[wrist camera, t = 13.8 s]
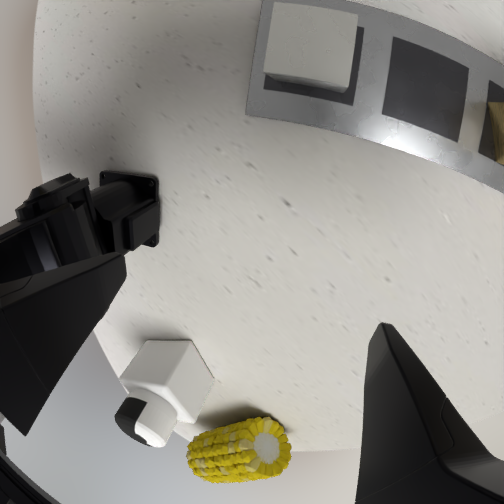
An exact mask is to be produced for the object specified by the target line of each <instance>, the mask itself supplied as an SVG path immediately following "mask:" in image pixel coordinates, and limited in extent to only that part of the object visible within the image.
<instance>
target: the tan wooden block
mask: <svg viewBox="0 0 504 504" xmlns="http://www.w3.org/2000/svg"><path fill="white" fill-rule="evenodd" d="M488 107H489V112H490V118H491V124H492V131H493V138H494V147H495V157H496V162H498V163H500V164H503V165H504V103H502V102H488Z"/></svg>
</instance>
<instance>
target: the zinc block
mask: <svg viewBox="0 0 504 504" xmlns="http://www.w3.org/2000/svg"><path fill="white" fill-rule="evenodd" d="M357 22H358V15H357V14H353V13H348V12H343V11H339V10H333V9H328V8H322V7H316V6H309V5H301V4H292V3H281V2H274V6H273V12H272V18H271V24H270V31H269V37H268V43H267V50H266V56H265V63H264V69H263V72H264V73H266V74H267V75H269V76H270V77H272V78H273V79H274V80H276V81H284V82H290V83H296V84H302V85H308V86H313V87H318V88H323V89H328V90H333V91H337V92H341V93H344V92H345V91H346V89H347V88H348V87H349V80H350V74H351V68H352V61H353V54H354V46H355V39H356V30H357Z"/></svg>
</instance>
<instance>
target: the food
mask: <svg viewBox="0 0 504 504" xmlns="http://www.w3.org/2000/svg"><path fill="white" fill-rule="evenodd" d="M283 433H284V428H283V426H281V425H279V423H278V422H276V421H274V420H271V418H270V417H264V418H263V419H262V418H261V417H257V418H255V419H253V418H250V419H247V420H246V421H242V422H238V423H234V424H230V425H227V426H226V427H218V428H216V429H214V430H210V431H205V432H204V433H201V434H199V436H194V438H193V442H190V444H189V445H188V446H187V447H188V449H189V451H187V455H186V457H187V459H189V460H188V464H189V467H190V468H192V470H193V472H194V475H197V476H199V477H200V478H202V479H203V480H204V481H206V480H207V481H210V482H212V483H214V482H216V483H219V482H221V483H231V482H232V483H233V482H239V483H240V482H245V481H246V482H247V481H249V480H252V481H253V480H257V479H267V478H270V477H275V476H278V475H280V474H281V473H282V471H283V469H286V468H287V466H288V464H289V463H288V462H289V461H290V459H291V454H290V450H291V448H292V447H291V444H290V443H286V442H287V441H288V438H287V436H286V434H283Z"/></svg>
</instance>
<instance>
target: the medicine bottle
mask: <svg viewBox="0 0 504 504" xmlns="http://www.w3.org/2000/svg"><path fill="white" fill-rule="evenodd" d="M119 380H120V382H121V383H122V384H123V386H124V387H125V388H126V389H127V390H128V392H129V394H128V396H127V397H126V399H125V400H124V402H123V404H122V405H121V406H120V408H119V410H118V411H117V413H116V414H115V421H116V423H117V424H118V426H119V427H120V429H121V430H122V431H123V432H124V433H126V434H127V435H129V436H130V437H131V438H133V439H134V440H136V441H138V442H140V443H142V444H145V445H147V446H151V447H163V446H165V445H166V443H167V441H168V439H169V437H170V435H171V433H172V431H173V429H174V427H175V425H176V423H177V421H181V422H187V423H195V422H196V420H197V418H198V416H199V413H200V411H201V409H202V407H203V404H204V402H205V400H206V398H207V396H208V393H209V391H210V389H211V387H212V384H213V382H214V378H213V376H212V375H211V373H210V372H209V370H208V368H207V367H206V365H205V363H204V361H203V360H202V358H201V356H200V355H199V353H198V351H197V349H196V348H195V346H194V344H193V342H192V341H163V340H147V341H146V342H145V343H144V344H143V346H142V347H141V349H140V350H139V351H138V353H137V354H136V355H135V357H134V358H133V360H132V361H131V362H130V364H129V365H128V366H127V368H126V369H125V371H124V372H123V373H122V375H121V376H120V378H119Z"/></svg>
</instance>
